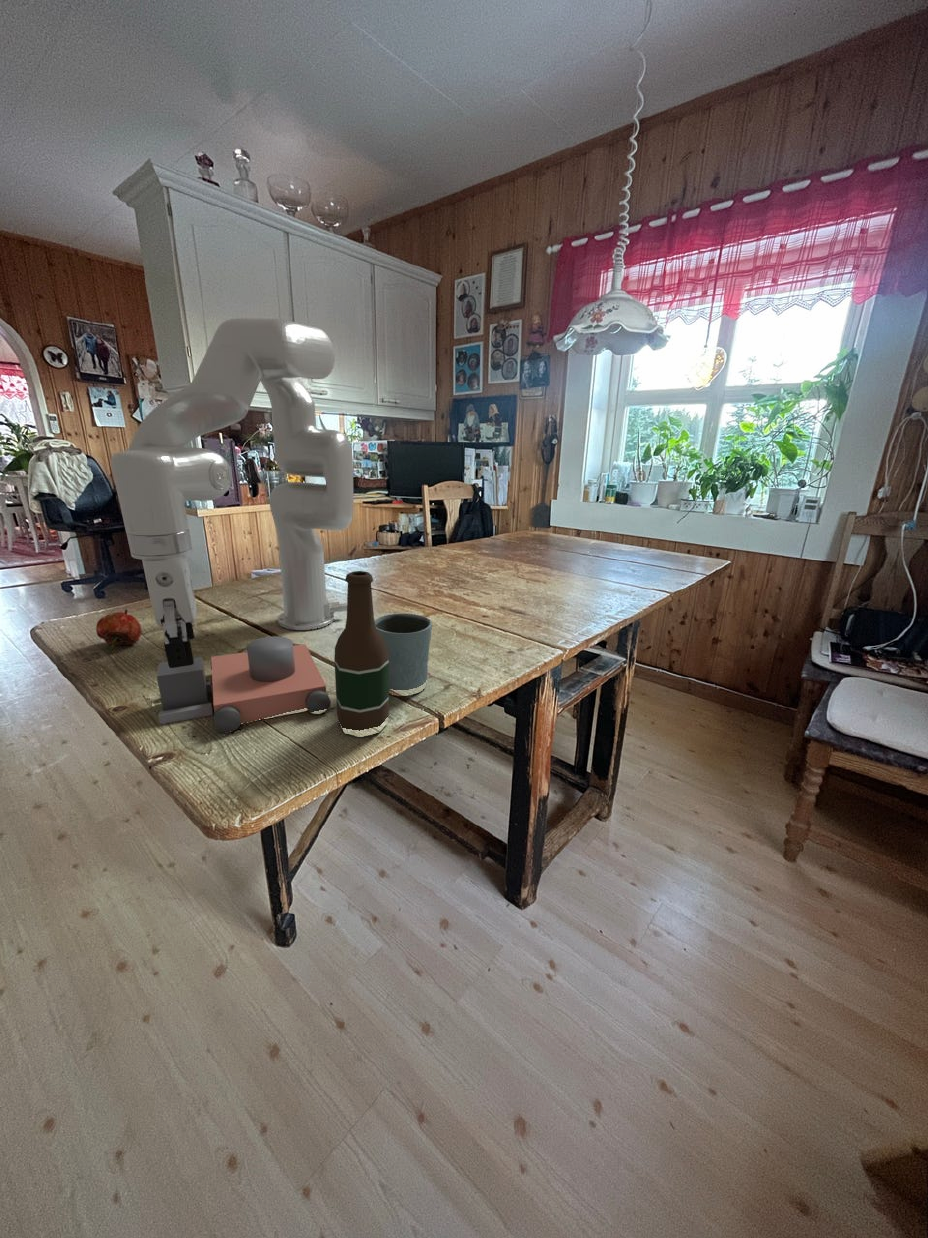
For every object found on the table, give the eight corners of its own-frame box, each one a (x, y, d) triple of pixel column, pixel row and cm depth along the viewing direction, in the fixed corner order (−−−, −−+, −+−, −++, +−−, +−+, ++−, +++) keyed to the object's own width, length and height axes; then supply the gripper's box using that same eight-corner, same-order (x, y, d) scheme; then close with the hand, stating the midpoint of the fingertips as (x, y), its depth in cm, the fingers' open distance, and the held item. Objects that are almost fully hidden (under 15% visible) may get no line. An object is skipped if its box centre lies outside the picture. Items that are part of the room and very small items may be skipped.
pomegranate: (137, 662, 95) (158, 619, 101) (110, 643, 89) (133, 599, 95) (104, 662, 96) (126, 620, 102) (75, 644, 90) (100, 600, 96)
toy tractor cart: (306, 659, 95) (303, 616, 92) (331, 712, 77) (328, 661, 74) (165, 680, 84) (157, 632, 81) (156, 747, 67) (145, 689, 64)
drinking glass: (387, 704, 81) (387, 637, 76) (365, 678, 88) (363, 617, 84) (440, 690, 86) (442, 627, 82) (415, 668, 94) (415, 609, 90)
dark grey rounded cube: (208, 695, 81) (202, 656, 78) (208, 709, 76) (202, 669, 74) (166, 702, 78) (159, 662, 76) (164, 717, 74) (156, 676, 71)
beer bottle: (341, 711, 78) (334, 565, 69) (390, 711, 78) (389, 566, 70) (333, 739, 70) (324, 580, 62) (387, 739, 71) (385, 581, 63)
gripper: (190, 556, 63) (211, 672, 69) (191, 529, 77) (208, 627, 84) (121, 561, 60) (149, 682, 66) (135, 532, 74) (158, 634, 80)
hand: (182, 652), depth 75 cm, fingers open, 9 cm apart
